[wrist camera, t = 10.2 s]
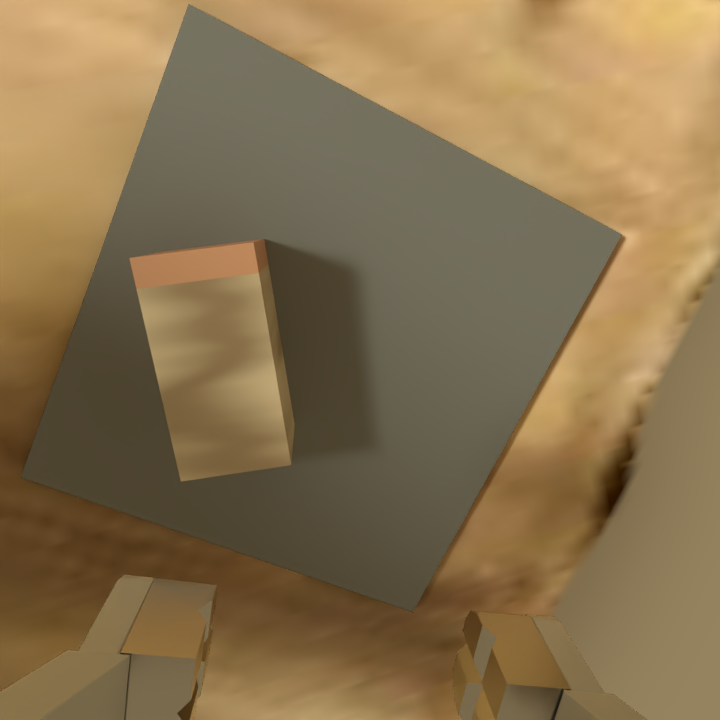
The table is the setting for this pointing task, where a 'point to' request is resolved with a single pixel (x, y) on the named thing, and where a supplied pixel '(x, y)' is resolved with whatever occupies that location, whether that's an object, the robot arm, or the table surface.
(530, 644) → the robot arm
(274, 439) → the maple block
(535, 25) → the table surface
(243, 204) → the rubber mat
